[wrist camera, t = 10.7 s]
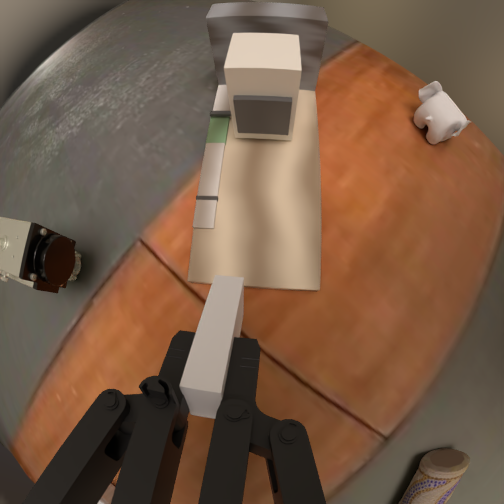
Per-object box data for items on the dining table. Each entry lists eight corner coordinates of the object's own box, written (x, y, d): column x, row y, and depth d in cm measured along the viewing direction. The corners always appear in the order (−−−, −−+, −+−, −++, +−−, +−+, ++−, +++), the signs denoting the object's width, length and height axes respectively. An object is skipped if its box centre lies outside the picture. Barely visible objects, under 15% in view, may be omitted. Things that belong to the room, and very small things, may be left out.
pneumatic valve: (45, 239, 28) (-20, 210, 16) (109, 253, 27) (36, 220, 15) (36, 280, 27) (-32, 263, 15) (99, 303, 26) (20, 292, 14)
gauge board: (311, 80, 31) (323, 7, 19) (316, 291, 25) (363, 273, 13) (224, 76, 32) (212, 4, 19) (191, 282, 26) (133, 257, 14)
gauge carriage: (291, 93, 28) (297, 28, 19) (291, 145, 27) (302, 75, 17) (217, 91, 29) (204, 28, 19) (206, 142, 27) (185, 75, 17)
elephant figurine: (463, 143, 29) (487, 119, 22) (429, 158, 28) (456, 129, 21) (433, 105, 30) (452, 77, 23) (396, 114, 30) (415, 80, 23)
